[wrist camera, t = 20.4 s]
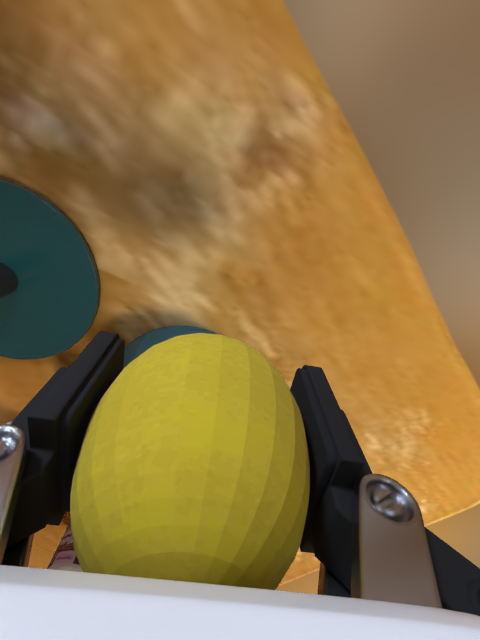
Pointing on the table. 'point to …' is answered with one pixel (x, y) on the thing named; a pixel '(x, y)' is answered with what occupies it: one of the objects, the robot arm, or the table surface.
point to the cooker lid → (42, 277)
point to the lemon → (193, 469)
